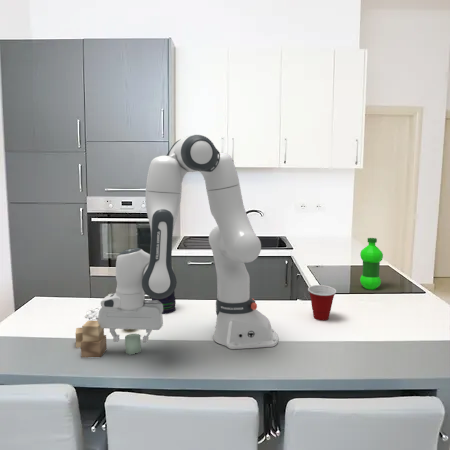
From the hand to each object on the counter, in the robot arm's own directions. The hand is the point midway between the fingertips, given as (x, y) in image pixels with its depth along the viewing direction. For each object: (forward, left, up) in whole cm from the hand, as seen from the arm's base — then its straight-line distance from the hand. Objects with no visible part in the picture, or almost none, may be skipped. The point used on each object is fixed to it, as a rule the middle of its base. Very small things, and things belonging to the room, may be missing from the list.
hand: (131, 341), depth 131 cm
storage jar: (-2, -41, -4) cm, 41 cm away
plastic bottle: (-98, -78, -4) cm, 125 cm away
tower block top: (+12, +1, +1) cm, 12 cm away
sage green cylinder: (0, -1, -4) cm, 4 cm away
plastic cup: (-66, -34, -4) cm, 75 cm away
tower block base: (+12, +1, -4) cm, 12 cm away
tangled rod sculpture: (+17, -33, -4) cm, 37 cm away
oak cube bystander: (+18, -6, -4) cm, 19 cm away
